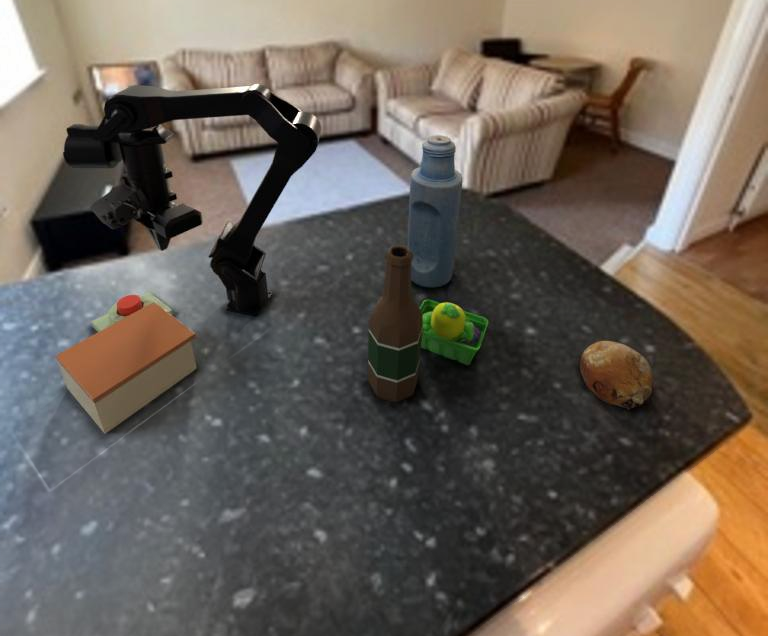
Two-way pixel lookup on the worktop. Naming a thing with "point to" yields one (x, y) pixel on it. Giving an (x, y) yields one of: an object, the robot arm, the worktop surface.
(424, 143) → the bottle
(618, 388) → the brown oval lump
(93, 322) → the button housing
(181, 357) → the wooden box
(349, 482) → the worktop surface
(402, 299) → the beer bottle
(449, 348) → the fruit basket
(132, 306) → the button
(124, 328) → the box lid
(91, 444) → the worktop surface
